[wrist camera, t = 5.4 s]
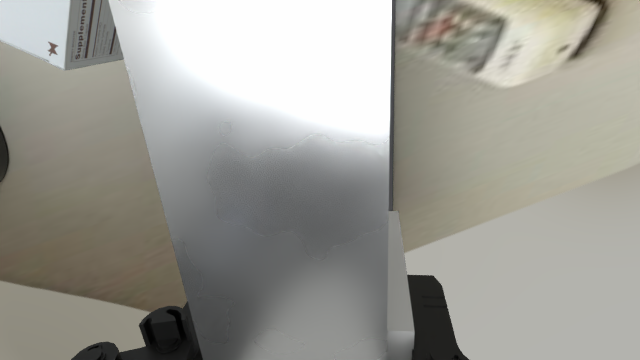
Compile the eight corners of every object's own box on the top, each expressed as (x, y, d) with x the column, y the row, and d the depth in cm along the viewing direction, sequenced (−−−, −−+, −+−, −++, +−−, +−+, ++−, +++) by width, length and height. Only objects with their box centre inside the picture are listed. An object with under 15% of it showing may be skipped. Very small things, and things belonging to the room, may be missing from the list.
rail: (297, 455, 20) (270, 615, 15) (212, -139, 10) (24, -317, 5) (380, 464, 20) (383, 633, 14) (381, -161, 9) (396, -398, 4)
